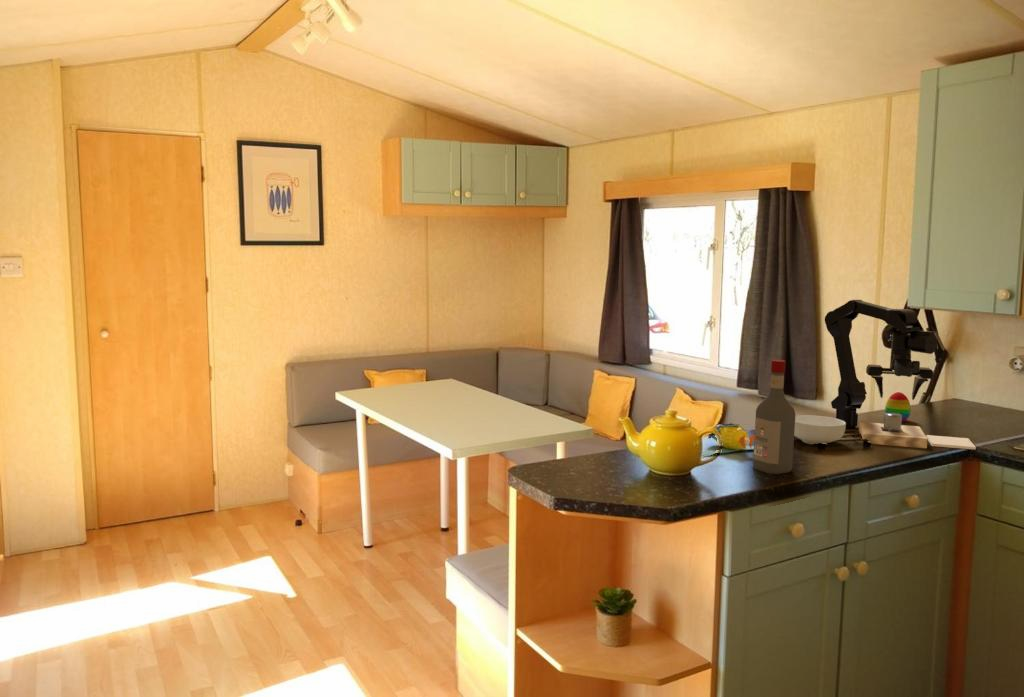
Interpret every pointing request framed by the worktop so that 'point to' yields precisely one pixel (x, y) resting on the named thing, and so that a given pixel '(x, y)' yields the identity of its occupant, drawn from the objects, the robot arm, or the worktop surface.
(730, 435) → the colourful shoe
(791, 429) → the liquor
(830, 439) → the cereal bowl
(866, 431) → the pocket block
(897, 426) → the metal part
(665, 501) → the worktop surface
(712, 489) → the worktop surface
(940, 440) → the ceramic tile
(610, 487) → the worktop surface
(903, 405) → the decorative egg
